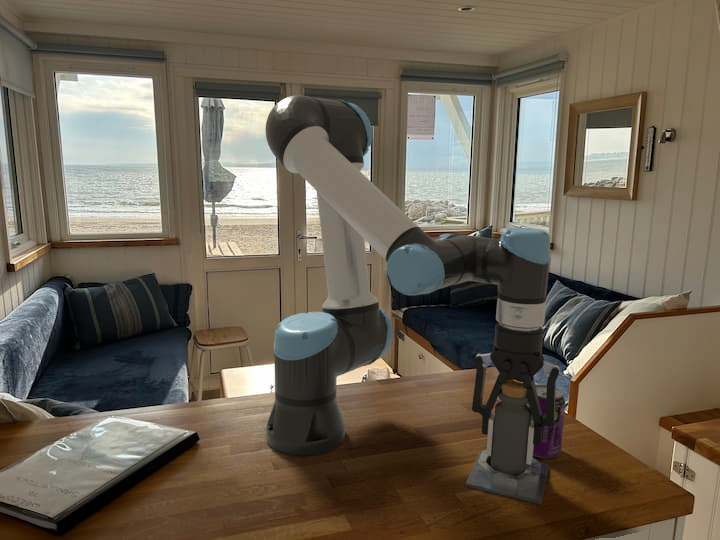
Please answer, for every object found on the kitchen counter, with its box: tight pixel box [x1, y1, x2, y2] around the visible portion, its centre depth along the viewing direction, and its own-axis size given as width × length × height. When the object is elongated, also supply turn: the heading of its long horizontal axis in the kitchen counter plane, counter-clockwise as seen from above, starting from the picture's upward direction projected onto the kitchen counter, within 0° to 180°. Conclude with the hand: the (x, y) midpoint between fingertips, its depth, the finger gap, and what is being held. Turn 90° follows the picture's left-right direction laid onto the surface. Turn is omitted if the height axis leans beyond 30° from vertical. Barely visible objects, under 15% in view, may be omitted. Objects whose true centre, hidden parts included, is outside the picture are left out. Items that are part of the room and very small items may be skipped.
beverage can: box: [526, 383, 566, 459], centre depth 103 cm, size 7×7×12 cm
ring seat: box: [465, 449, 550, 505], centre depth 96 cm, size 12×12×3 cm
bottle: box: [491, 379, 531, 475], centre depth 94 cm, size 6×6×15 cm
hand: (509, 455), depth 95 cm, fingers open, 6 cm apart
